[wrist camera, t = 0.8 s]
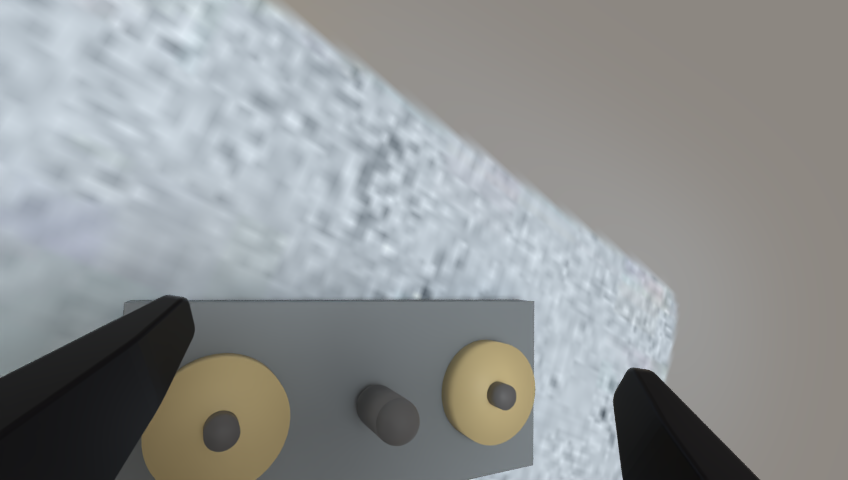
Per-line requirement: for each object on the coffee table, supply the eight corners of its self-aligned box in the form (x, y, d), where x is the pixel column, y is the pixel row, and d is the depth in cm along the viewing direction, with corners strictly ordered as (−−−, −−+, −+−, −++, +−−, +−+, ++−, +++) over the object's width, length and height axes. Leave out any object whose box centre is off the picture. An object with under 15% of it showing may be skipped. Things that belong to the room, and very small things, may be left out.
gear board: (515, 454, 26) (590, 498, 21) (110, 538, 17) (75, 648, 12) (516, 299, 26) (589, 306, 21) (129, 300, 17) (103, 312, 13)
